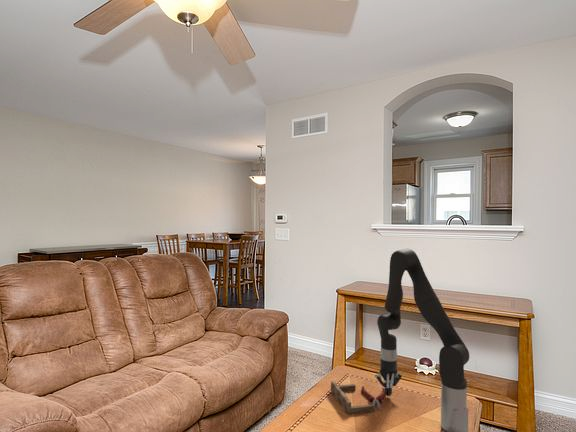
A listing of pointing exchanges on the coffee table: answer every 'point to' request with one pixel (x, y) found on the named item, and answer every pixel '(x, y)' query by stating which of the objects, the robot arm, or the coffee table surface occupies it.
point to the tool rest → (345, 402)
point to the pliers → (372, 399)
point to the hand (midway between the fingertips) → (388, 395)
